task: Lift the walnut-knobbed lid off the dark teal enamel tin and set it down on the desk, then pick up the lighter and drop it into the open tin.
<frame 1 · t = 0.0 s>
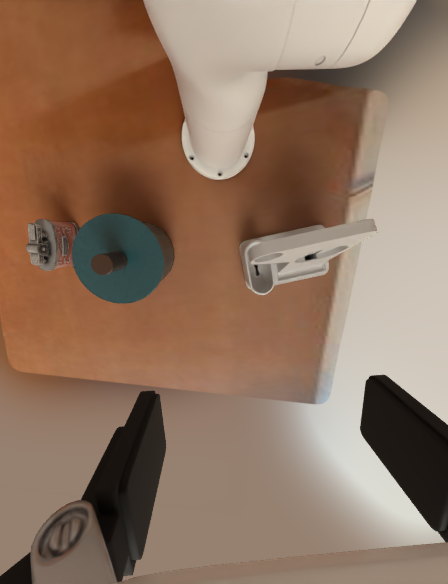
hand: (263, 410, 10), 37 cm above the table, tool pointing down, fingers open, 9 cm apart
tin lid: (120, 260, 33), point 11 cm above the table, touching tin
phone holder: (282, 257, 46), on the table
tin: (143, 254, 44), on the table
lighter: (73, 244, 43), on the table
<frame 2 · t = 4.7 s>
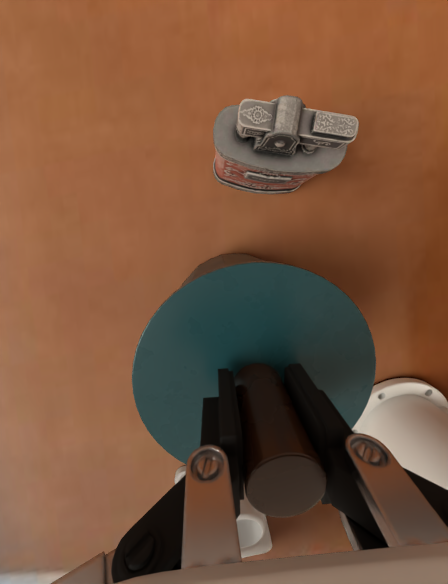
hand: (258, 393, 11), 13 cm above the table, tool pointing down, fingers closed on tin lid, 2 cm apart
tin lid: (254, 377, 12), point 12 cm above the table, touching gripper
phone holder: (226, 506, 30), on the table
tin: (234, 310, 24), on the table
lighter: (257, 173, 21), on the table
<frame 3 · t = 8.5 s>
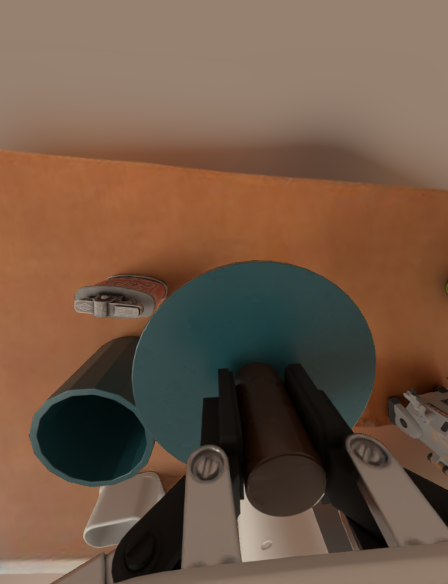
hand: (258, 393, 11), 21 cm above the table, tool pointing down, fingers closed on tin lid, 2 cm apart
tin lid: (254, 377, 12), point 20 cm above the table, touching gripper
figurine: (411, 390, 37), on the table
phone holder: (142, 510, 40), on the table
tin: (132, 373, 34), on the table
lighter: (138, 286, 31), on the table
when the fingers open (2 cm above the table, at t = 12.7 s): tin lid stays where it is, point 1 cm above the table.
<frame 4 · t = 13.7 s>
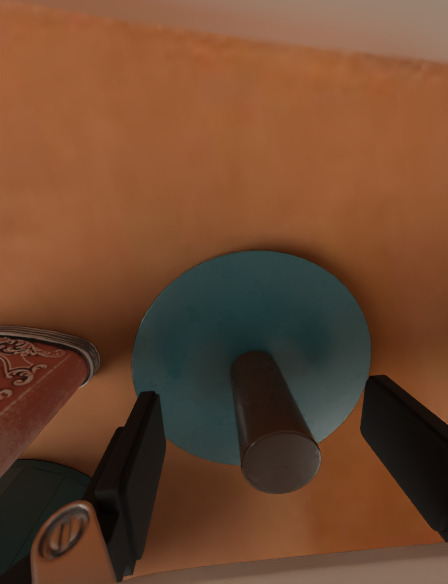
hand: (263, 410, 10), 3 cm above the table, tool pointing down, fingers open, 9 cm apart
tin lid: (252, 365, 13), point 1 cm above the table
tin: (36, 526, 16), on the table
lighter: (27, 353, 13), on the table
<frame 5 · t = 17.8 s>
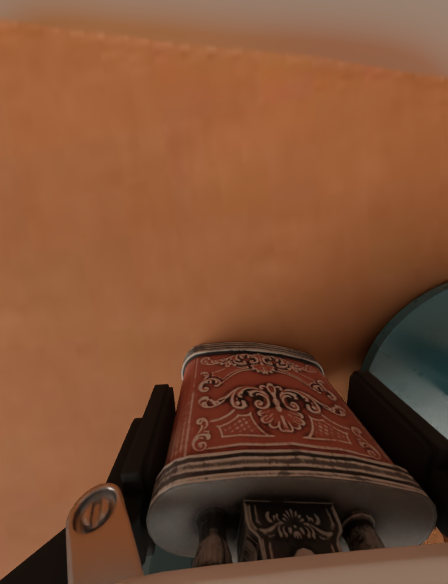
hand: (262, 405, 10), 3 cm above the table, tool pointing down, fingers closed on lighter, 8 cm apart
tin: (220, 530, 16), on the table
lighter: (251, 366, 14), on the table, touching gripper
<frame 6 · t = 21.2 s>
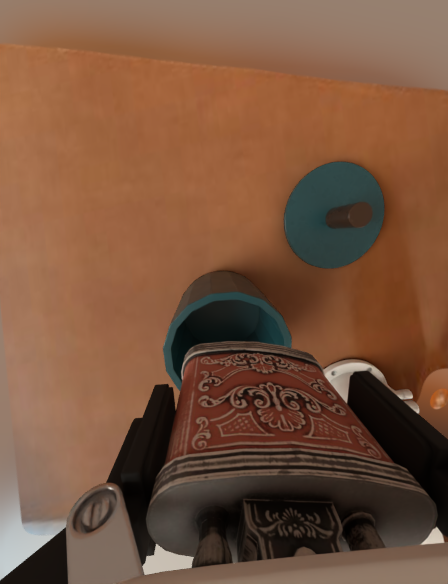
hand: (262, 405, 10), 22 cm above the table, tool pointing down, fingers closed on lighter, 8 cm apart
tin lid: (332, 218, 29), point 1 cm above the table
tin: (222, 312, 32), on the table
lighter: (251, 366, 14), point 18 cm above the table, touching gripper
when the fingers open (12 cm above the table, at t = 24.7 s): lighter drops 8 cm, resting on tin.
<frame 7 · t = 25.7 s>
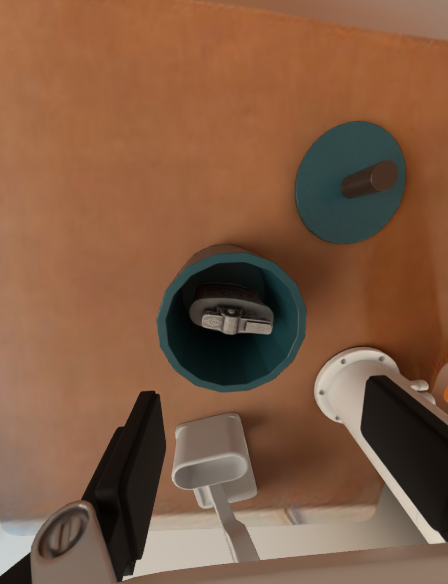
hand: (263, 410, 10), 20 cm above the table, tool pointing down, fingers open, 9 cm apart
tin lid: (348, 187, 26), point 1 cm above the table
phone holder: (218, 458, 36), on the table
tin: (223, 291, 29), on the table
lighter: (226, 294, 29), resting on tin
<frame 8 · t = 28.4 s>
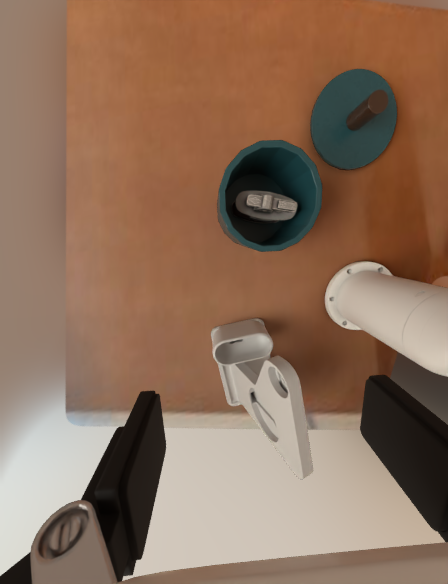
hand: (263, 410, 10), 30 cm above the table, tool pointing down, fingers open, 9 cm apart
tin lid: (352, 123, 34), point 1 cm above the table
phone holder: (244, 361, 44), on the table
tin: (253, 210, 37), on the table
lighter: (255, 211, 37), resting on tin
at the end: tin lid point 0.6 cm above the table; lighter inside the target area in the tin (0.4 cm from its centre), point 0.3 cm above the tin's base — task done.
